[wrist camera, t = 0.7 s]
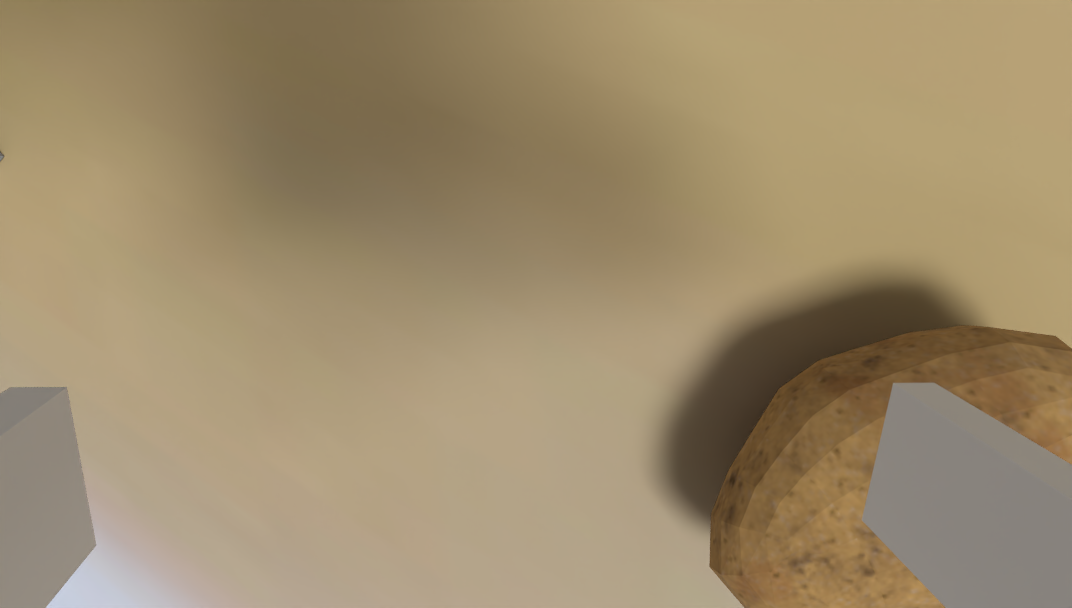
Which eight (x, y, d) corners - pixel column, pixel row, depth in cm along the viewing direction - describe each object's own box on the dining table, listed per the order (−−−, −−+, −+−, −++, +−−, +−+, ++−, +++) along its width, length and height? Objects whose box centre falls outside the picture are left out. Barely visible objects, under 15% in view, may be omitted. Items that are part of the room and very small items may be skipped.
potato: (645, 432, 28) (646, 499, 21) (944, 257, 26) (1075, 258, 18) (767, 620, 28) (815, 762, 20) (1081, 462, 26) (1274, 554, 18)
